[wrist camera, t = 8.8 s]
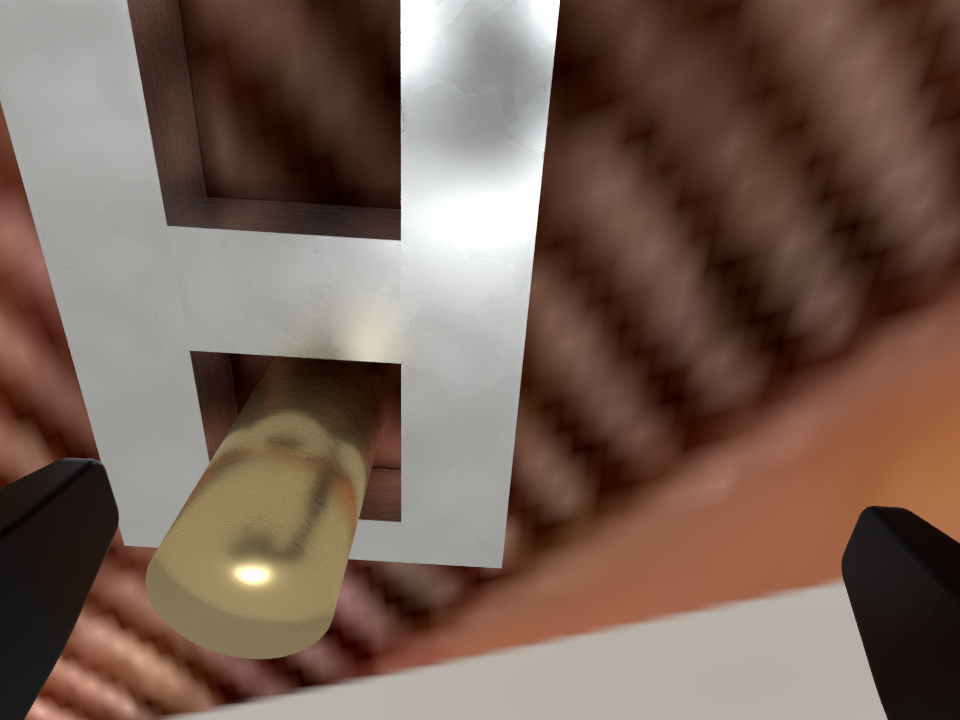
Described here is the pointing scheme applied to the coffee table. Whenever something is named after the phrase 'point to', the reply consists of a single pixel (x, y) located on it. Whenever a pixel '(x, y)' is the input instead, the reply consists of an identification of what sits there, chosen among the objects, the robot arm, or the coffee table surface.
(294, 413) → the pale yellow rod
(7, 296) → the coffee table surface
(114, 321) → the plate
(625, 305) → the coffee table surface
